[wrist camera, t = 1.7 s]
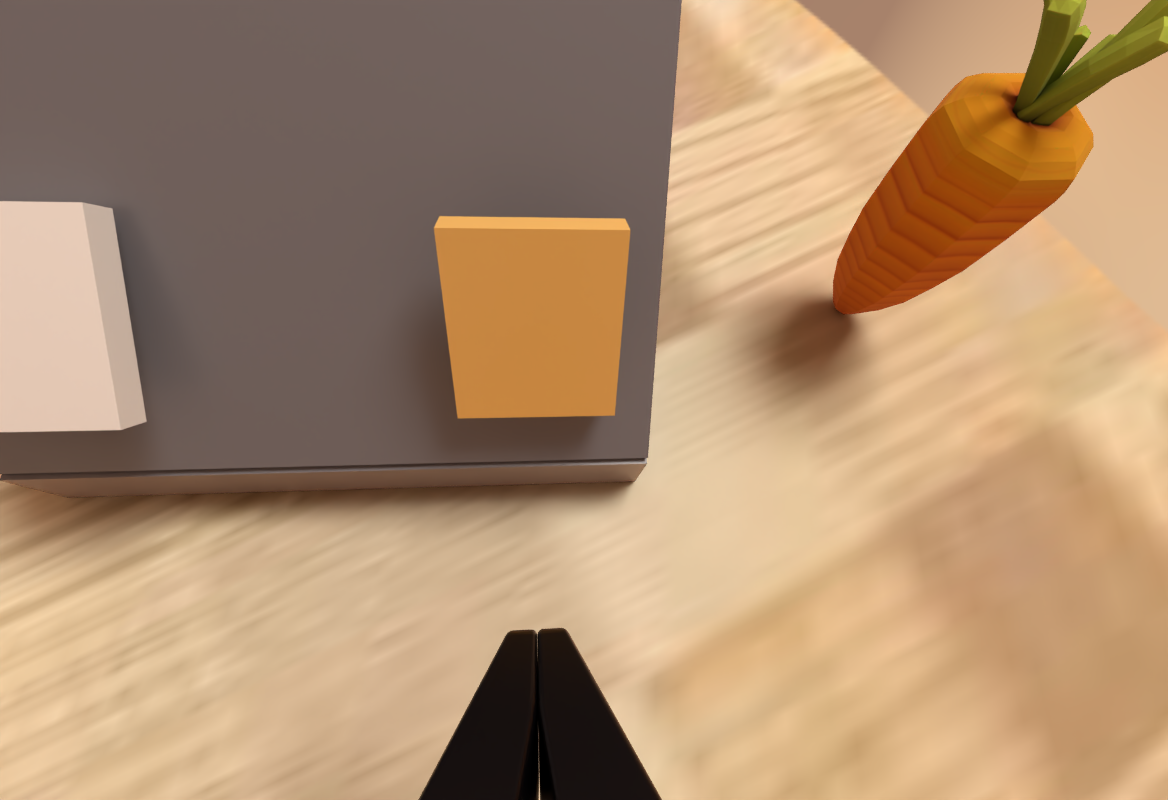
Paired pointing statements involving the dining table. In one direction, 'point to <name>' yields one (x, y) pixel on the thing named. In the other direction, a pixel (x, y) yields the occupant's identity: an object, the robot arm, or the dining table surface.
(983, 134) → the carrot
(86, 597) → the dining table surface
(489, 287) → the block
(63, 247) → the block
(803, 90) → the dining table surface
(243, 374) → the switch console
